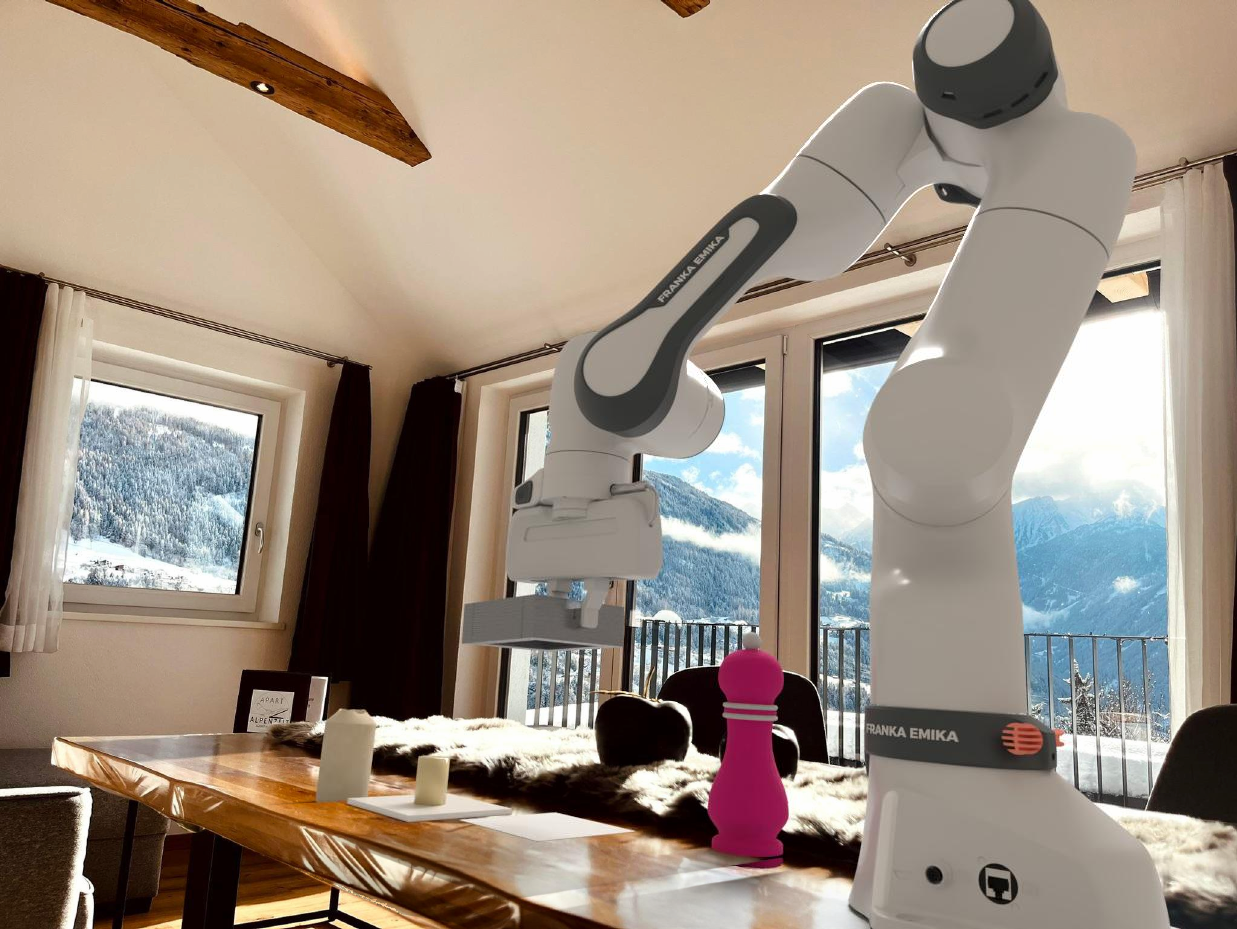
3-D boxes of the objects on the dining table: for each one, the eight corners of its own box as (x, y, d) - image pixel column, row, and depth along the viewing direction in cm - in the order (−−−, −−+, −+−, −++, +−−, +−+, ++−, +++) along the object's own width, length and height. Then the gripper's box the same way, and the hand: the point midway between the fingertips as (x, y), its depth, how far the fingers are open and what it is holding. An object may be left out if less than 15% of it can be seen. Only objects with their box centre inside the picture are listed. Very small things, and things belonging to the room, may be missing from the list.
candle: (347, 808, 95) (359, 710, 97) (304, 802, 97) (317, 707, 99) (376, 802, 100) (387, 710, 102) (335, 797, 102) (346, 707, 104)
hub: (510, 824, 91) (515, 762, 92) (407, 832, 83) (414, 765, 84) (445, 807, 99) (451, 750, 101) (346, 813, 91) (353, 752, 93)
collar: (623, 646, 90) (624, 607, 91) (532, 637, 82) (534, 594, 83) (550, 651, 98) (551, 615, 99) (461, 643, 90) (464, 604, 91)
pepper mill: (693, 861, 77) (701, 628, 82) (723, 849, 84) (729, 633, 88) (773, 874, 74) (777, 630, 79) (798, 861, 80) (800, 635, 85)
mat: (635, 842, 85) (636, 831, 85) (536, 853, 77) (537, 841, 77) (554, 822, 93) (555, 812, 93) (458, 830, 85) (459, 819, 85)
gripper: (681, 484, 85) (673, 631, 82) (547, 503, 100) (535, 628, 96) (634, 471, 81) (624, 625, 78) (501, 493, 95) (488, 623, 92)
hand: (574, 627), depth 87 cm, fingers closed on collar, 2 cm apart
